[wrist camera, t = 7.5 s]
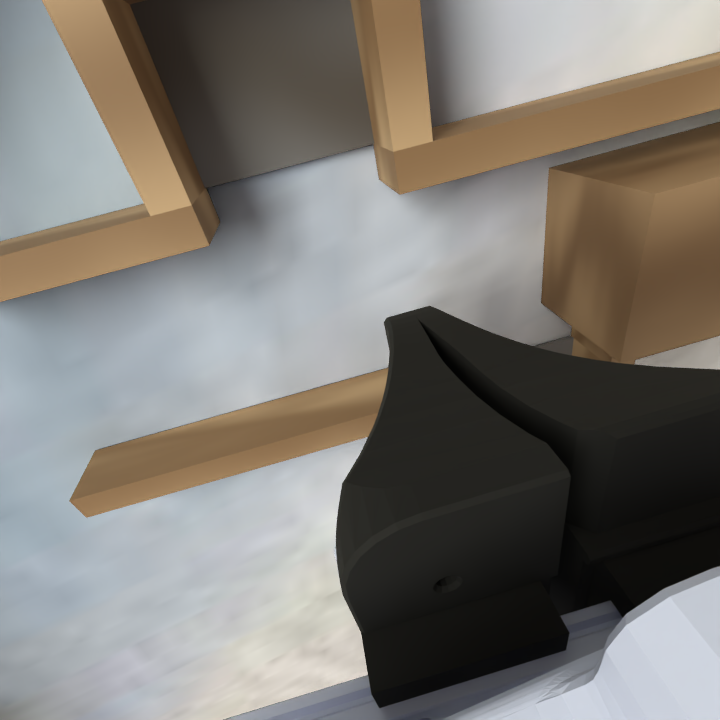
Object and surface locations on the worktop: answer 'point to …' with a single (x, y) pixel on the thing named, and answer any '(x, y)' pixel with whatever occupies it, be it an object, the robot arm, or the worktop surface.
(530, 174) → the worktop surface
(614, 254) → the walnut block
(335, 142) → the trap lane
